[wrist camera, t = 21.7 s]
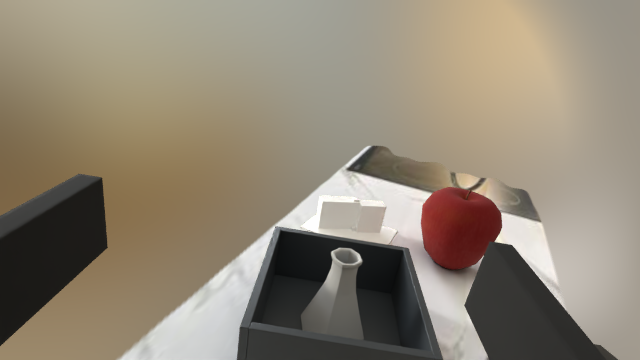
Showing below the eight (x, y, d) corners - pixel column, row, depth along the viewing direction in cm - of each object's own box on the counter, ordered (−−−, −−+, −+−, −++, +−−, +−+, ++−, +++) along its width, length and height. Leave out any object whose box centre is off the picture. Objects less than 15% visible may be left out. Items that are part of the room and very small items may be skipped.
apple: (486, 259, 63) (514, 190, 58) (478, 294, 53) (510, 215, 48) (419, 234, 68) (439, 168, 63) (401, 262, 58) (422, 186, 53)
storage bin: (234, 390, 34) (239, 326, 31) (269, 274, 50) (275, 226, 47) (420, 421, 34) (443, 360, 31) (394, 295, 50) (408, 247, 47)
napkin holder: (299, 227, 63) (303, 198, 61) (326, 205, 73) (330, 179, 71) (380, 258, 58) (388, 227, 56) (397, 230, 68) (405, 203, 66)
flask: (290, 313, 43) (301, 241, 39) (342, 301, 46) (357, 234, 42) (316, 363, 37) (333, 283, 33) (374, 345, 40) (395, 271, 36)
